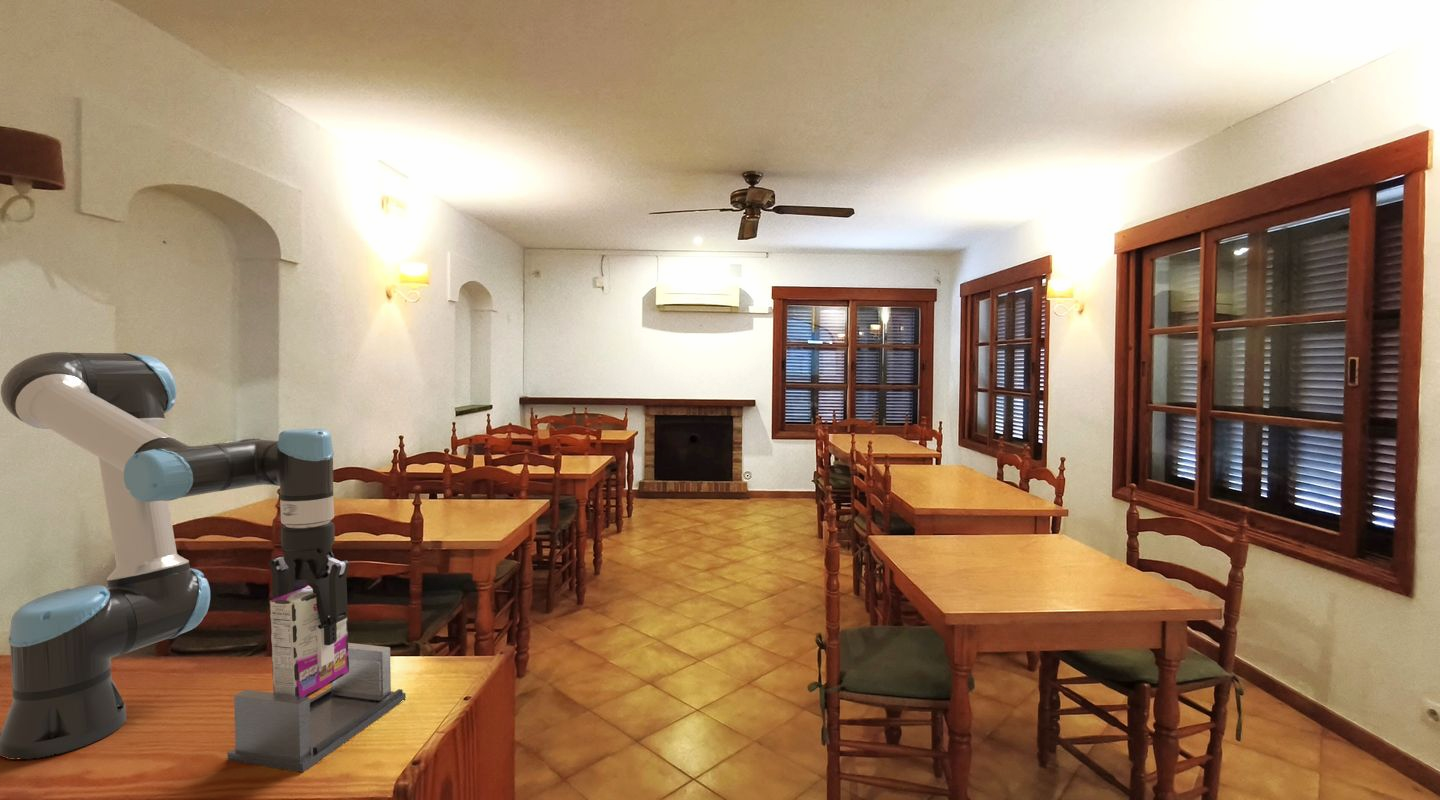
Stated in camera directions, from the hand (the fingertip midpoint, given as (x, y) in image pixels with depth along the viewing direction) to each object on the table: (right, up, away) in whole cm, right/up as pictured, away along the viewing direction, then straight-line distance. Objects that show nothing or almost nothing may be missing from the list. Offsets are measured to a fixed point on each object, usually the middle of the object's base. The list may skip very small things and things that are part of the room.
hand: (311, 661), depth 110 cm
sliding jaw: (+3, -11, +14) cm, 18 cm away
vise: (0, -12, +3) cm, 13 cm away
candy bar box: (0, -4, 0) cm, 4 cm away
